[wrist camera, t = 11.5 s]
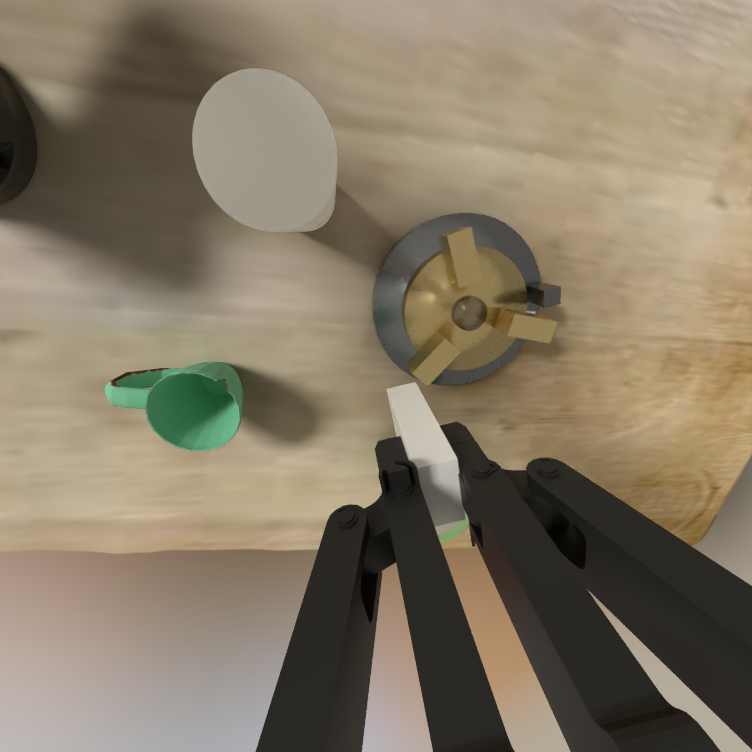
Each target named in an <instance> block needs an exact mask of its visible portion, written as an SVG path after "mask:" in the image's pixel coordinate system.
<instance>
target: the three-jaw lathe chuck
mask: <svg viewBox="0 0 752 752" xmlns="http://www.w3.org/2000/svg"><path fill="white" fill-rule="evenodd" d="M438 239H439V243H440V247H441V251H438V252H437V253H435V254H433V255H432V256H430V257H429V258H427V259H426V260H425V261H424V262H423V263H422V264H421V265H420V266H419V267H418V268H417V269H416V271H415V272H414V273H413V275H412V276H411V278H410V280H409V282H408V284H407V286H406V288H405V292H404V295H403V300H402V321H403V325H404V328H405V331H406V333H407V335H408V337H409V339H410V341H411V342H412V343H413V345H414V346H415V348H416V349H417V350H418V351H417V352H416V353H415V355H414V356H413V357H412V358H411V359H410V360H409V361H408V362H407V363H406V364H407V366H408V367H409V369H410V371H411V373H412V374H413V375H414V376H415V377H417V378H418V379H419V380H420V381H421V382H423V383H424V384H425V385H426V386H429V385H430V384H431V383H432V382H433V381H434V380H435V378H436V377H437V376H438V375H439V374H440V373H441V372H442V371H443V370H444V369H449V370H469V369H474V368H478V367H481V366H483V365H486V364H488V363H490V362H491V361H493V360H495V359H496V358H498V357H499V356H500V355H501V354H503V353H504V352H505V351H506V350H507V349H508V348H509V347H510V346H511V344H512V343H513V342H514V340H515V339H516V338H522V339H528V340H533V341H539V342H544V343H550V342H551V340H552V337H553V334H554V332H555V329H556V327H557V324H558V322H557V321H554V320H552V319H550V318H547V317H545V316H542V315H537V314H532V313H527V312H526V311H527V300H528V299H527V290H526V285H525V282H524V279H523V277H522V275H521V273H520V271H519V269H518V268H517V267H516V265H515V264H514V263H513V262H512V261H511V260H510V259H509V258H508V257H506V256H505V255H504V254H502V253H500V252H498V251H496V250H494V249H491V248H487V247H482V246H475V242H474V237H473V232H472V227H460V228H457V229H454V230H451V231H449V232H446V233H443V234H440V235H438Z"/></svg>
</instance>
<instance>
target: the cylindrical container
mask: <svg viewBox="0 0 752 752" xmlns="http://www.w3.org/2000/svg"><path fill="white" fill-rule="evenodd" d="M192 145H193V156H194V159H195V163H196V167H197V171H198V173H199V176H200V178H201V180H202V182H203V184H204V186H205V188H206V190H207V191H208V193H209V194H210V196H211V197H212V198H213V200H214V201H215V202H216V203H217V204H218V205H219V206H220V207H221V209H222V210H223V211H224V212H225V213H227V214H228V215H229V216H231V217H232V218H234V219H235V220H236V221H238V222H240V223H242V224H244V225H246V226H248V227H250V228H254V229H257V230H260V231H268V232H308V231H314V230H317V229H319V228H321V227H322V226H324V225H325V224H326V223H327V222H328V220H329V219H330V217H331V216H332V213H333V211H334V206H335V195H336V181H337V163H338V155H337V147H336V140H335V137H334V134H333V131H332V127H331V124H330V122H329V120H328V118H327V116H326V114H325V113H324V111H323V109H322V107H321V106H320V105H319V103H318V102H317V101H316V99H315V98H314V97H313V96H312V94H310V93H309V92H308V91H307V90H306V89H305V88H304V87H303V86H302V85H301V84H299V83H298V82H296V81H295V80H293V79H291V78H290V77H288V76H286V75H284V74H281V73H279V72H276V71H273V70H267V69H261V68H252V69H242V70H239V71H236V72H233V73H231V74H228V75H226V76H225V77H223V78H222V79H221V80H219V81H218V82H216V83H215V84H214V85H213V86H212V87H211V89H210V90H209V91H208V92H207V93H206V94H205V96H204V97H203V99H202V101H201V103H200V105H199V107H198V109H197V113H196V116H195V120H194V123H193V133H192Z"/></svg>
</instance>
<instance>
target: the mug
mask: <svg viewBox="0 0 752 752" xmlns="http://www.w3.org/2000/svg"><path fill="white" fill-rule="evenodd" d="M149 387H152V388H151V389H143V388H149ZM105 394H106V396H107V397H108V399H109V400H110V402H111V403H112V405H114V406H120V407H126V408H139V409H146V415H147V419H148V421H149V423H150V425H151V427H152V428H153V430H154V431H155V432H156V433H157V434H158V435H159V436H160V437H161V438H162V439H163V440H164V441H166V442H168V443H170V444H171V445H173V446H175V447H177V448H181V449H185V450H188V451H209V450H212V449H216V448H219V447H221V446H222V445H224V444H226V443H227V442H229V441H230V440H231V439H232V437H233V436H234V435H235V434H236V432H237V431H238V428H239V425H240V422H241V419H242V403H243V389H242V384H241V381H240V379H239V376H238V374H237V372H236V371H235V370H234V368H233V367H231V366H230V365H228V364H226V363H223V362H204V363H198V364H195V365H191V366H188V367H185V368H182V369H177V368H159V369H151V370H143V371H135V372H127V373H125V374H123V375H121V376H119V377H117V378H115V379H113V380H112V381H110V382H109V383H108V384H107V385H106V387H105Z"/></svg>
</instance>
